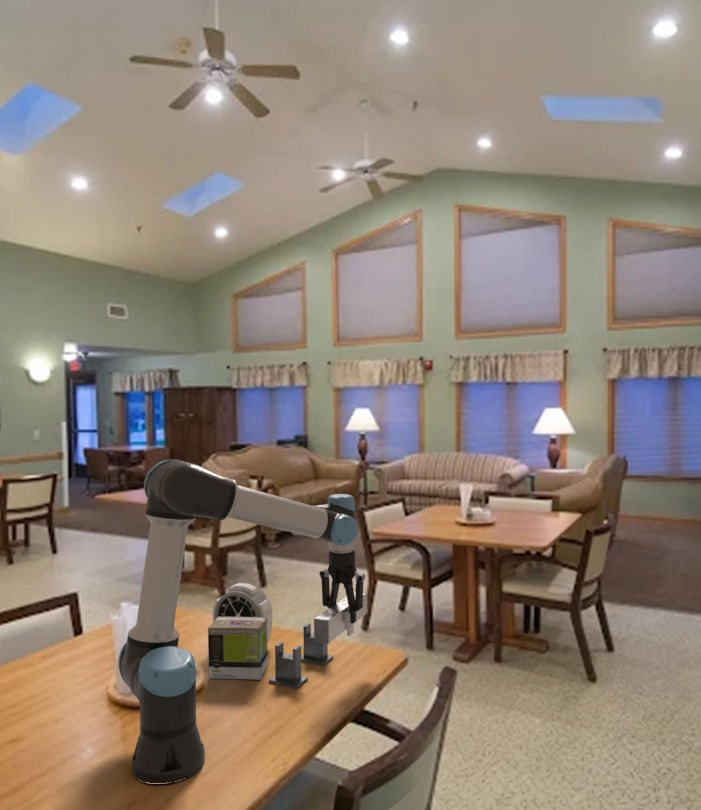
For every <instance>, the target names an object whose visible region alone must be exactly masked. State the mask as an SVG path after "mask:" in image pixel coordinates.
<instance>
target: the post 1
mask: <svg viewBox="0 0 701 810" xmlns="http://www.w3.org/2000/svg"><path fill="white" fill-rule="evenodd" d="M284 650H285V649H284V641H280V642H278V643H277V644H275V645H274V661H275V662H274V665H275V666H274V668H275V669H274V672H275V674H274V675H273V676H271V677H270V678H269V679H268V683H269V684H274V685H278V686H283V687H287V688H291V689H297V690H298V688H300V687H301V686H302V685H304V683H306V682H307V681H308V680H309V677H308V676H305V675H302V661H301V655H302V645H301V644H300V645H299V644H297V645H296V646H294V647H293V648H292V654H291V653H287V652H284Z"/></svg>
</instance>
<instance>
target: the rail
mask: <svg viewBox="0 0 701 810" xmlns="http://www.w3.org/2000/svg"><path fill="white" fill-rule="evenodd" d="M354 595H356V590H354ZM348 611H349V606H348V601H347V596H345V597H344V598H343V599H341V600H340V601H337V602H336V604H335V605H334V606H332V607H331V608H328V609H327V610H325V611H324V612H322V613H320V614H319V615H318V616H316V617H314V618H313V634H314V642H319V643H325V644H328V645H329V644H330V643H331V642H333V640H335V639H336V638H338V636H340V635H341V634H342V633H344V632H345V631H347V612H348ZM368 613H369V593H368V591H363V607H362V608H361V609H360V610H359V611H356V622H358V621H359V620H360V619H361V618H363V617H364V616H365V615H366V614H368Z"/></svg>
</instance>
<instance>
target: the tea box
mask: <svg viewBox="0 0 701 810" xmlns="http://www.w3.org/2000/svg"><path fill="white" fill-rule="evenodd" d="M207 643H208V644H207V645H208V646H207V647H208V648H207V649H208V651H207V653H208V655H207V656H208V657H207V658H208V677H209V678H208V679H220V680H221V679H223V680H224V679H225V680H226V679H228V680H229V679H230V680H257V681H260V680H261V679H262V677H263V675H264V674H265V672H266V669H267V667H268V662H269V660H268V642H267V617H218V618H217V619H216V620H215V621H214V622H213V621H212V623H211V624H210V625H209V626H208V628H207Z"/></svg>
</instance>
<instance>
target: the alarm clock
mask: <svg viewBox="0 0 701 810" xmlns="http://www.w3.org/2000/svg"><path fill="white" fill-rule="evenodd" d="M272 607H273V606H272V604H271V601H270V599H269V598H267V596H266V594H265V593H264V592H263V591H262V590H261V589H260V588H258V587H256V586H254V585H253V584H251V583H245V582H238V583H236V584H235V583H234V584H233V585H231V586H229V587H227V593H225V594H224V595H221V596H220V597H219V598H217V599H216V600H215V602H214V605H213V608H212V623H213V622H214V621H215V620H216V619H217V618H218V617H267V643H269V642H270V640H271V637H272V629H273V608H272Z"/></svg>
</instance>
